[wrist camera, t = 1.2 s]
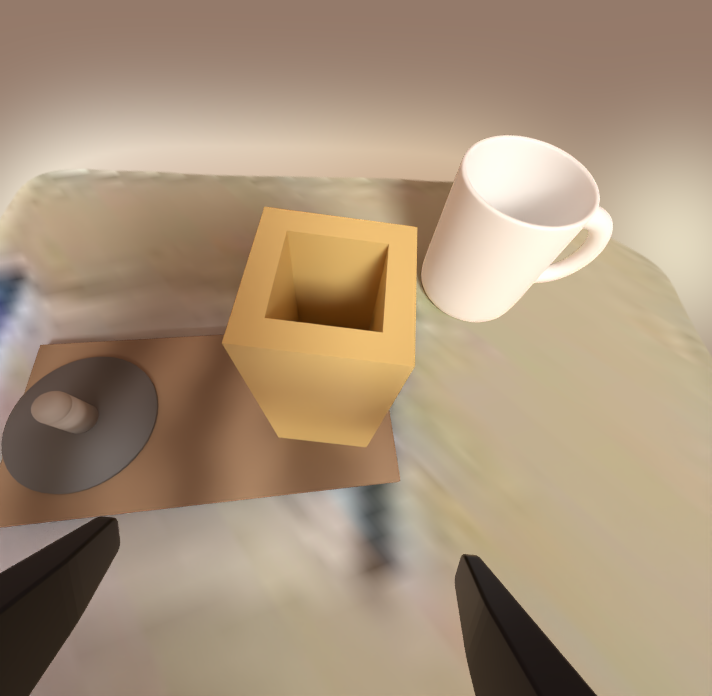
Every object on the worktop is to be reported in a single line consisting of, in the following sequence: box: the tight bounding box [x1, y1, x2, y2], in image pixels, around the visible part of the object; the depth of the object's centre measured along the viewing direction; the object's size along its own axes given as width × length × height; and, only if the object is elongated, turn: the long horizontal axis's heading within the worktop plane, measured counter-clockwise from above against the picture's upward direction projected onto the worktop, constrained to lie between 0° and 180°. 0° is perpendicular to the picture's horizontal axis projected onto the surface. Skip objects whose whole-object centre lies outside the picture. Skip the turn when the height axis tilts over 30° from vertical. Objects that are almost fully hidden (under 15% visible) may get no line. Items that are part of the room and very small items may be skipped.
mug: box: [421, 135, 613, 322], centre depth 24 cm, size 12×8×10 cm
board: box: [0, 335, 400, 528], centre depth 20 cm, size 23×11×4 cm, turn 96°
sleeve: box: [222, 207, 417, 447], centre depth 17 cm, size 6×6×13 cm
